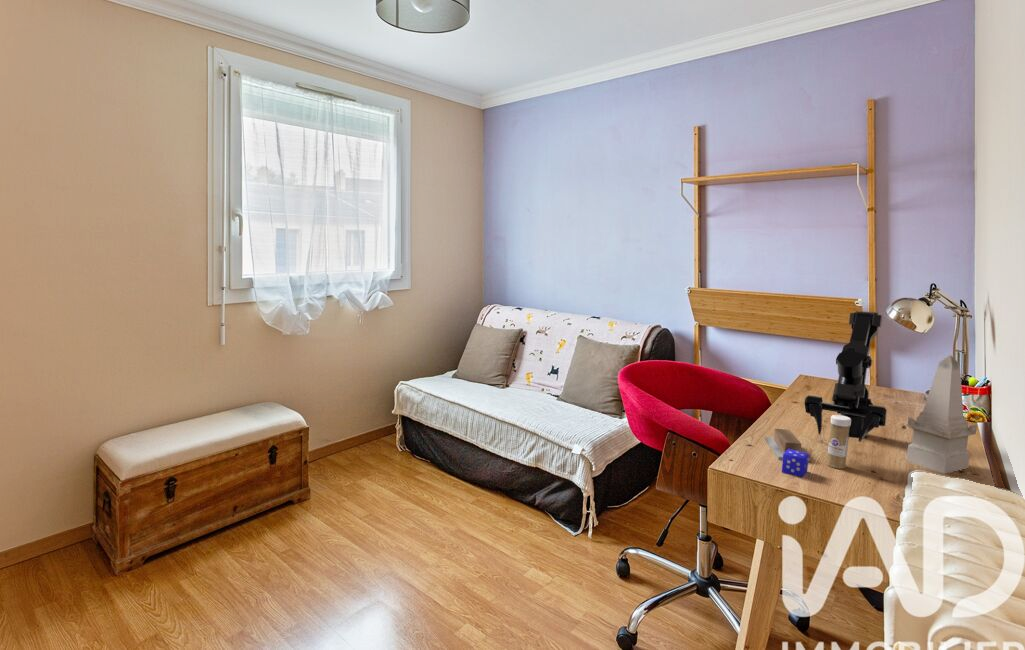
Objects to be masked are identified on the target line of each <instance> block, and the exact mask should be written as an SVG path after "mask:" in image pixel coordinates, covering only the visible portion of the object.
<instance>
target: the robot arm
mask: <svg viewBox="0 0 1025 650" xmlns="http://www.w3.org/2000/svg"><path fill="white" fill-rule="evenodd" d="M882 324H883V316H882V315H881V314H879V312H873V311H861V310H856V311H854V312H850V313H849V319H848V325H850V326H851V334H850V339H849V342H848V343H846V344H844V345H843V347H842V349H841V352H839V353H838V354H837V357H836V358H835V364H836V365H837V374H838V379H837V383H836V382H835V383H834V388H833V392H832V393H833V395H832V399H831V400H832V403H830V402H824V401H823V397H821V396H816V395H809V394H808V395H807V396H805V399H804V402H803V403H804V408H805V413H807V414H809V415H810V416H811V417H813V418H814V419H815V422H816V426H817V432H818V435H821V434H822V428H823V426H822V425H823V411H828V412H829V411H830V412H833V413H834V412H835V413H837V415H842V416H846V417H849V418H850V419H851V426H850V428H849V437H855V438H857V437H858V442H859V443H861V442H862V441H863V440H864V438H868V434H869V432H871V431H872V430H873V429H875V428H877V429H878V428H879V427H886V421H887V412H888V410H887V408H886V406H881V405H875V404H874V403H873V402H872V401H873V400H872V399H871V398H870V393H869V391H868V388H867V387H866V386H867V385H866V379H867V378H866V377H867V370H868V369H870V368H871V367H872V366H873V362H874V361H873V359H872V358H871V355H870V349H871V343H872V340H873V339H874V338H875V337H877V335H878V333H879V329H880V328H882Z"/></svg>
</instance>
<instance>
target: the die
mask: <svg viewBox="0 0 1025 650" xmlns="http://www.w3.org/2000/svg"><path fill="white" fill-rule="evenodd" d="M808 458H810V453H809V452H805V451H804V452H800V451H796V450H791V449H787V451H786V452H785V453H784V454H783V460H782V464H781V473H783V474H788V475H791V476H795V477H798V478H799V477H800V478H804V476H805V475H806V474H807V472H808V467H809V466H808V465H809V462H808Z"/></svg>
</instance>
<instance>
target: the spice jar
mask: <svg viewBox="0 0 1025 650" xmlns="http://www.w3.org/2000/svg"><path fill="white" fill-rule="evenodd" d="M850 426H851V419H850V418H849V417H846V416H842V415H841V414H833V415H831V416H830V430H829V431H830V432H829V440H828V446H827V447H828V448H827V460H826V465H828V466H829V467H831V468H832V469H833V468H834V469H840V470H842V469H843V470H844V469H845V468H847V464H846V463H847V456H848V450H849V439H850V436H849V428H850Z"/></svg>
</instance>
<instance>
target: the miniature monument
mask: <svg viewBox="0 0 1025 650" xmlns="http://www.w3.org/2000/svg"><path fill="white" fill-rule="evenodd" d="M962 390H963V388H962V376H961V364H960V362H959V361H958V360H957V359H955V358H954V357H953V356H952V355H951V354H949V355H948V356H946V357H945V358H944V359H942V360H940V361H939V362H938V364H937V366H936V371H935V373H934V376H933V379H932V382H931V386H930V389H929V392H928V395H927V398H926V402H925V405H924V406H923V407H924V408H923V410H922V411H921V412H919V413H918V416H917V417H916V418H915V419H914V418H912V417H910V416H909V417H908V418H907V427H908V428H910V429H912V430H913V433H912V439H911V440H912V441H911V443H910V444H908V445H907V452H906V459H905V460H906V461H907V462H910V463H913V464H916V465H918V466H920V467H924V468H927V469H930V470H933V471H935V472H938V473H941V474H944V475H945V474H951V473H954V472H953V471H956V472H959V471H958V470H960V469H963V468H967V467H968V468H969V463H970V462H969V461H970V457H971V456H970V455H971V453H970V452H969V451H968V450H967V449H968V441H969V437H970V436H975V435H976V434H977V433H976V432H977V428H978V425H977V424H971V425H969V422H968V421H967V420H968V419H967V417H966V416H964V404H963V391H962ZM960 471H961V470H960Z"/></svg>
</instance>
